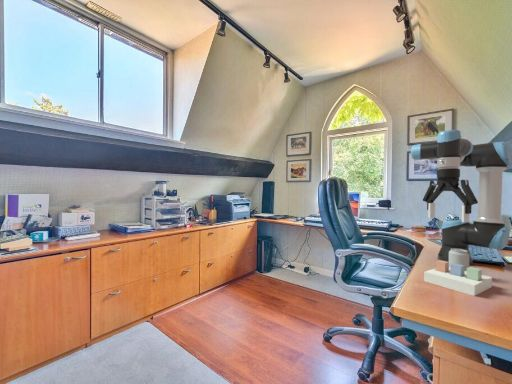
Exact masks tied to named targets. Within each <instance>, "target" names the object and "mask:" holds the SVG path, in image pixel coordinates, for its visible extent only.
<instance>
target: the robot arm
mask: <svg viewBox="0 0 512 384" xmlns="http://www.w3.org/2000/svg"><path fill="white" fill-rule="evenodd" d="M461 134H462V133H461V131H460V130H458V129H449V130H448V129H447V130H444V131H440V132H438V134H437V139H436V141H432V142H426V143H425V142H424V143H418V144H413V146H412V147H411V149H410V156H411V158H412V160H415V161H419V160H420V161H421V160H427V161H428V160H429V161H436V168H437V170H436V178H437V180H430V181H429V186H428V188H427V189H426V192H425V194H424V195H423V198H422V201H423V202H425V203H426V210H427V211H428V212H427V213H428V219H435V218H436V215H435V214H436V203H434V202H435V201H436V200H437V198H439V196H441V194H442V193H444V192H452V193H454V194H455V195H456V197H458V199H459V200H460V201H461V202H462V203H463V204H462V205H461V219H459V220H458V219H456V220H455V219H454V220H453V219H451V220H445V221H443V222H442V227H441V247H440V250H439V252H438V253H437V261H438V260H442V261H446V262H449V251H450V250H451V249H452V248H455V249H463V250H467V251H468V252H467V253H468V254H469V255H470V257H469V266H471V265H473V262H474V261H473V257H472V255H471V253H470V249H469V246H474V247H480V248H485V249H491V250H492V249H493V250H502V249H504V248H505V247H506V246H507V245H508V242H509V239H510V233H511V232H510V228H509V227H508V226H506V223H505V222H504V221H503V220H502V219H501V218H502V216H501V215H502V194H503V173H504V171H506V170H507V169H508V166H510V165H512V149H511V146H510V144H509V143H508V142H506V141H493V142H487V143H486V142H484V143H479V144H473V143H472V141H470V140H469V139H465V138H462V135H461ZM460 167H470V168H471V167H475V171H477V172H478V173H479V175H478V176H479V177H478V197H477V198H478V199H477V198H476V196H475V194H474V192H473V190H472V188H471V186H470V183H469V182H470V181H469V180H468V179H461V180H460V177H461V169H460ZM459 185H460V186H459ZM460 187H461V188H460ZM473 205H477V218H475V219H473V221H472V222H473V223H471V222H470V214H472V206H473Z"/></svg>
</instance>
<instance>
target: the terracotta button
mask: <svg viewBox="0 0 512 384" xmlns="http://www.w3.org/2000/svg"><path fill="white" fill-rule="evenodd" d="M434 269H435V270H436V271H440V272H444V273H447V272H449V262H446V261H442V260H438V259H437V260H435V267H434Z"/></svg>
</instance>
